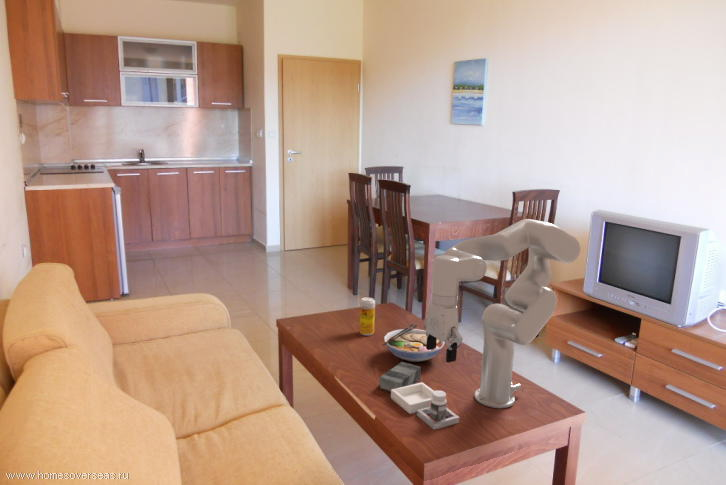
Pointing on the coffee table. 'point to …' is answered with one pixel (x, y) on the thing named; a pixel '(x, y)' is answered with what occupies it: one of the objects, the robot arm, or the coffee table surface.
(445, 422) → the square open frame
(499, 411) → the coffee table surface
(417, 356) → the ramen bowl
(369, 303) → the glass of beer
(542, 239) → the robot arm
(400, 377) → the stone block
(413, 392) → the tray
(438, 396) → the pill bottle
